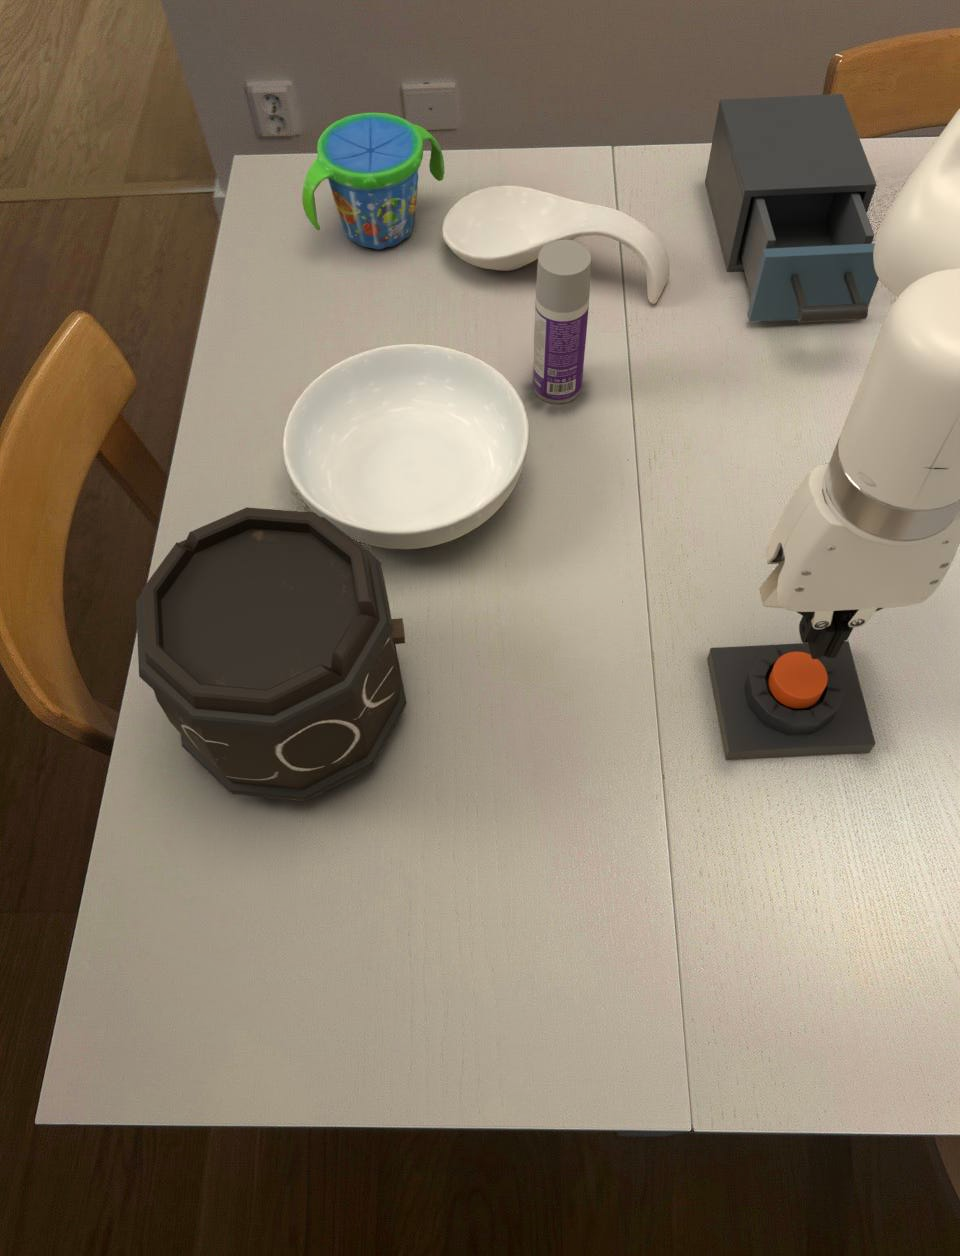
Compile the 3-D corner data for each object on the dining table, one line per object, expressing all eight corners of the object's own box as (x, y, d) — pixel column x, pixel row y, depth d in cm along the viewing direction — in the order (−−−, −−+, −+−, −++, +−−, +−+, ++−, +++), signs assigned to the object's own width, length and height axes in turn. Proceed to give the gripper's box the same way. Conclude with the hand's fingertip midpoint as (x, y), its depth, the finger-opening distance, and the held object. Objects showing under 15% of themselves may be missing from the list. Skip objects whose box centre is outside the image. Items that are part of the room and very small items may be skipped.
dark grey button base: (843, 651, 85) (855, 628, 82) (869, 753, 81) (883, 733, 78) (706, 658, 85) (714, 635, 82) (725, 760, 81) (733, 741, 78)
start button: (815, 661, 82) (821, 649, 80) (827, 707, 79) (833, 696, 78) (763, 663, 81) (768, 652, 80) (773, 710, 79) (778, 699, 78)
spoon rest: (426, 273, 110) (421, 214, 104) (469, 204, 115) (466, 145, 109) (646, 330, 105) (655, 271, 99) (679, 255, 110) (690, 195, 104)
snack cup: (425, 179, 118) (419, 92, 109) (466, 235, 113) (463, 148, 104) (294, 222, 114) (276, 136, 106) (330, 281, 109) (315, 196, 101)
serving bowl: (261, 447, 98) (245, 394, 92) (463, 368, 103) (460, 313, 97) (352, 616, 88) (341, 569, 82) (570, 520, 93) (575, 469, 87)
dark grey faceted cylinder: (433, 787, 80) (419, 689, 67) (195, 835, 79) (130, 744, 65) (395, 592, 89) (376, 472, 76) (181, 631, 88) (122, 515, 74)
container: (590, 379, 102) (602, 249, 89) (567, 410, 100) (576, 283, 87) (547, 361, 103) (553, 231, 90) (523, 392, 101) (526, 264, 88)
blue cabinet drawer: (879, 358, 101) (905, 293, 94) (759, 364, 101) (777, 300, 94) (834, 226, 111) (855, 159, 104) (726, 231, 111) (740, 164, 104)
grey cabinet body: (849, 265, 109) (877, 184, 101) (727, 271, 109) (744, 190, 101) (819, 176, 117) (842, 93, 108) (704, 181, 117) (719, 99, 108)
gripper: (1010, 419, 61) (910, 590, 77) (752, 433, 62) (705, 602, 77) (1052, 523, 58) (938, 681, 73) (776, 539, 58) (721, 693, 73)
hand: (818, 640), depth 75 cm, fingers closed
